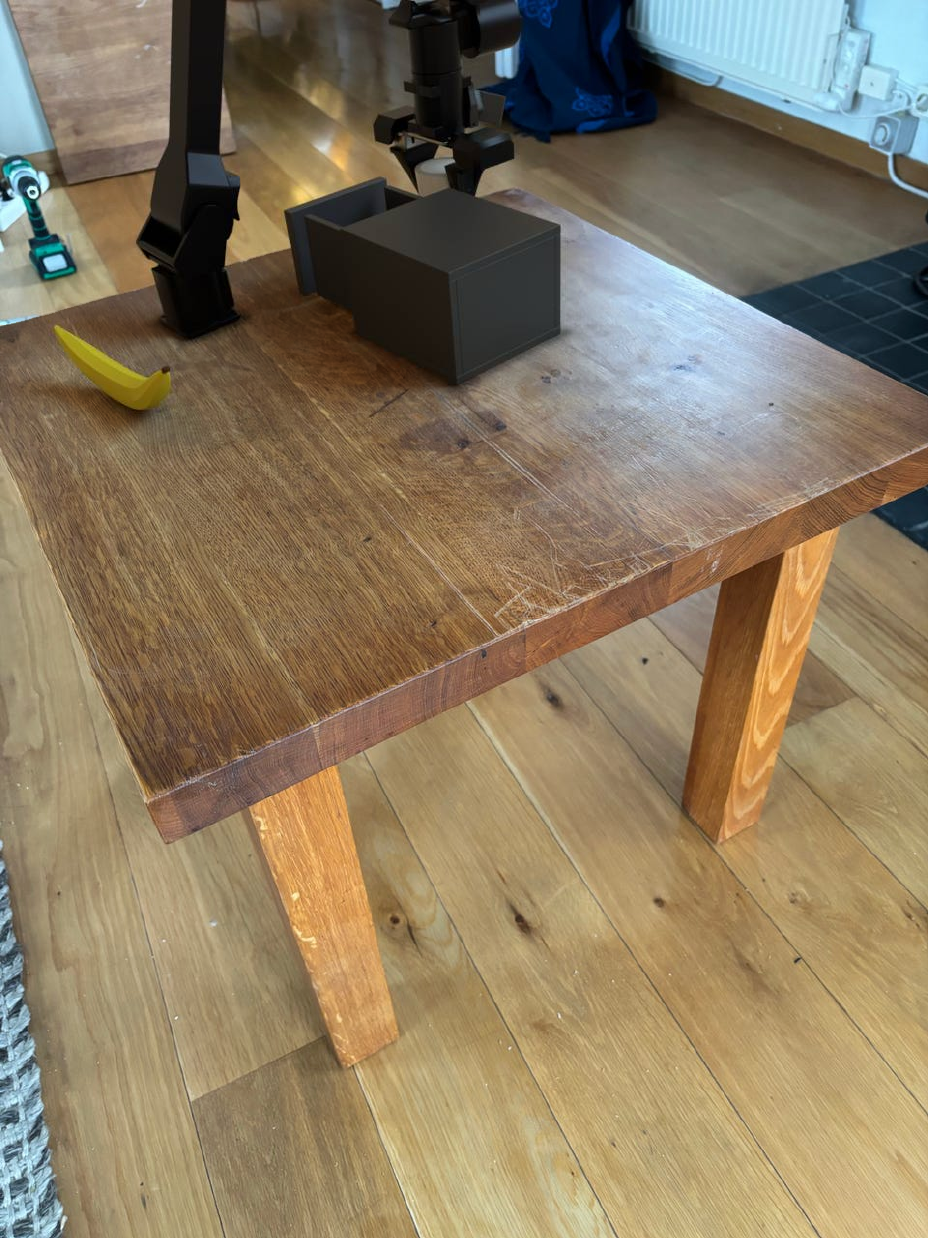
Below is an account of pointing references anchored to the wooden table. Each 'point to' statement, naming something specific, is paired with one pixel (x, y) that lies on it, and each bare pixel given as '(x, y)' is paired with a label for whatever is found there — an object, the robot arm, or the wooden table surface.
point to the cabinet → (454, 282)
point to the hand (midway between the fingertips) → (447, 213)
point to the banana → (115, 374)
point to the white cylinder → (432, 175)
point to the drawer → (334, 234)
